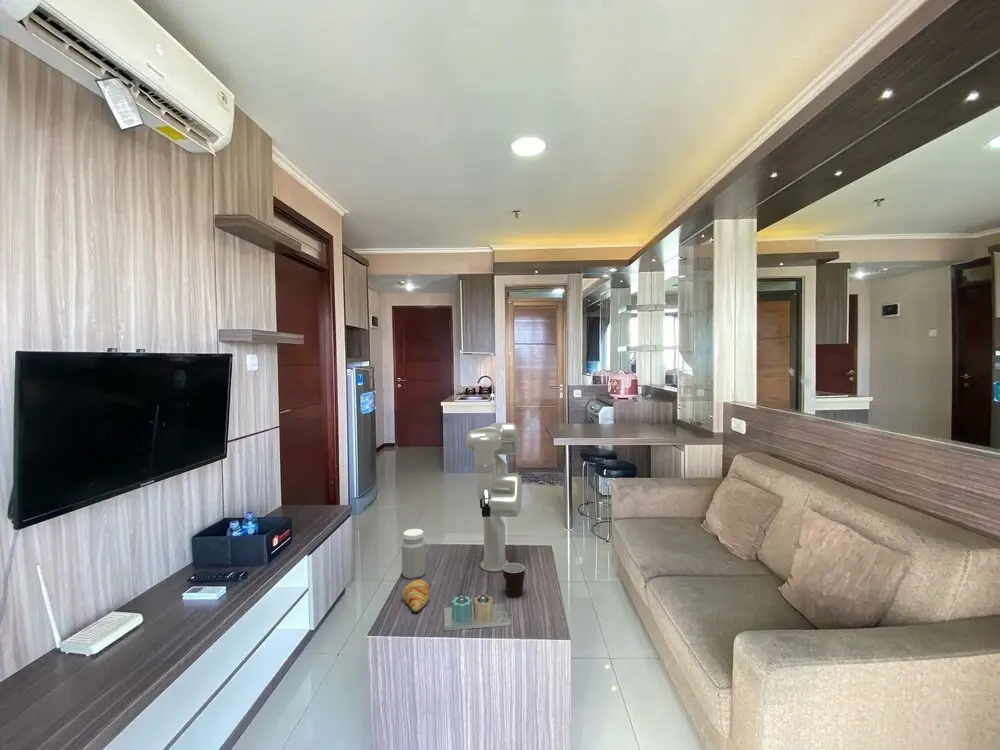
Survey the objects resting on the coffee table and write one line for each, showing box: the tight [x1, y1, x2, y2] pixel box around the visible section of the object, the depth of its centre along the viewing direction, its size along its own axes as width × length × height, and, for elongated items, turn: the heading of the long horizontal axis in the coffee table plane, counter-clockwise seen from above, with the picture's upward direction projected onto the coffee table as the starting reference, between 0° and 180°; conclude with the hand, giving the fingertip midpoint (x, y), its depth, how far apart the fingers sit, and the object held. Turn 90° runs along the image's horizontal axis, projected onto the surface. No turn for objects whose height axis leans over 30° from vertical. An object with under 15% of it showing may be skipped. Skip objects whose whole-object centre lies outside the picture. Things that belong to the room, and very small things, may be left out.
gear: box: [451, 595, 473, 621], centre depth 147 cm, size 7×7×5 cm
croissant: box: [401, 578, 431, 613], centre depth 160 cm, size 21×10×8 cm, turn 11°
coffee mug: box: [502, 562, 526, 599], centre depth 165 cm, size 12×9×10 cm
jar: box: [401, 528, 426, 580], centre depth 181 cm, size 10×10×18 cm
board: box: [443, 594, 511, 632], centre depth 147 cm, size 12×22×7 cm, turn 97°
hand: (485, 512), depth 164 cm, fingers open, 9 cm apart
